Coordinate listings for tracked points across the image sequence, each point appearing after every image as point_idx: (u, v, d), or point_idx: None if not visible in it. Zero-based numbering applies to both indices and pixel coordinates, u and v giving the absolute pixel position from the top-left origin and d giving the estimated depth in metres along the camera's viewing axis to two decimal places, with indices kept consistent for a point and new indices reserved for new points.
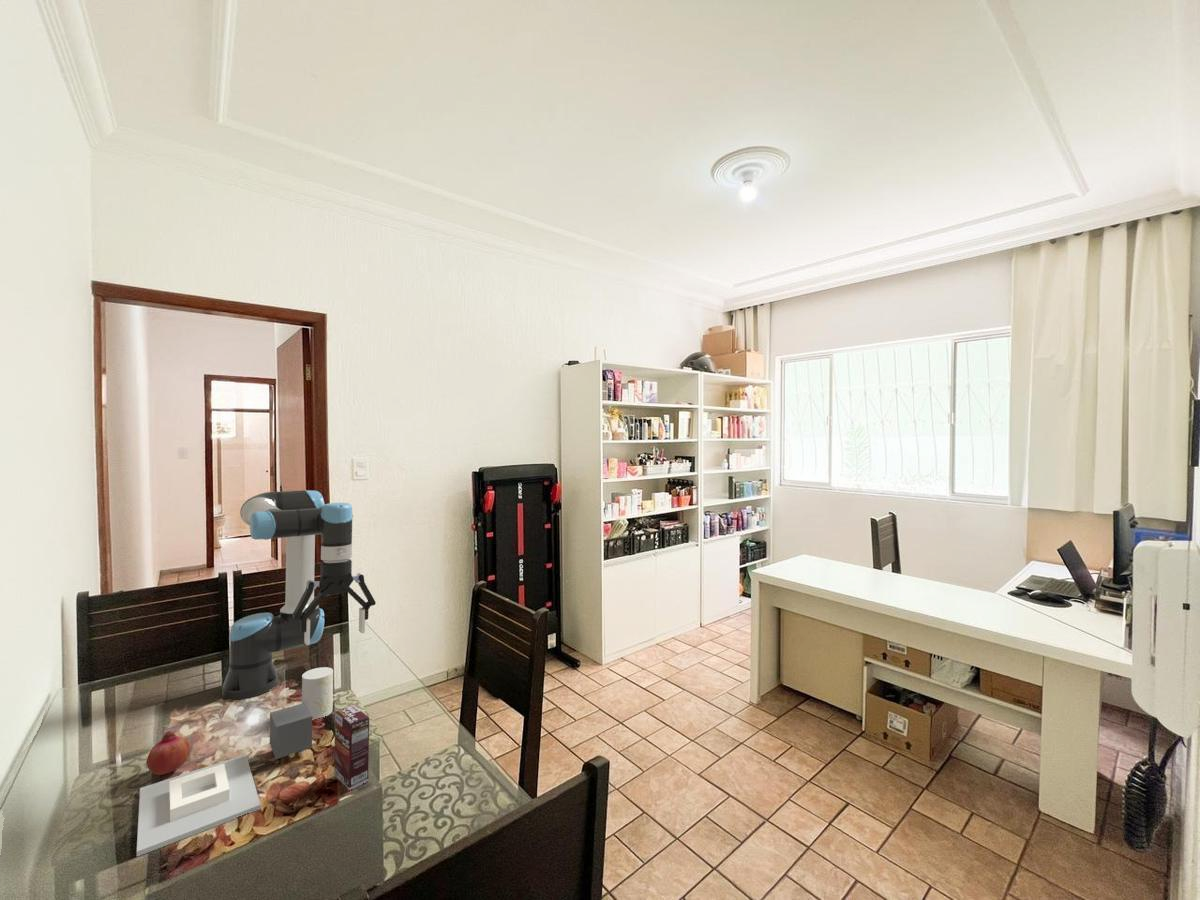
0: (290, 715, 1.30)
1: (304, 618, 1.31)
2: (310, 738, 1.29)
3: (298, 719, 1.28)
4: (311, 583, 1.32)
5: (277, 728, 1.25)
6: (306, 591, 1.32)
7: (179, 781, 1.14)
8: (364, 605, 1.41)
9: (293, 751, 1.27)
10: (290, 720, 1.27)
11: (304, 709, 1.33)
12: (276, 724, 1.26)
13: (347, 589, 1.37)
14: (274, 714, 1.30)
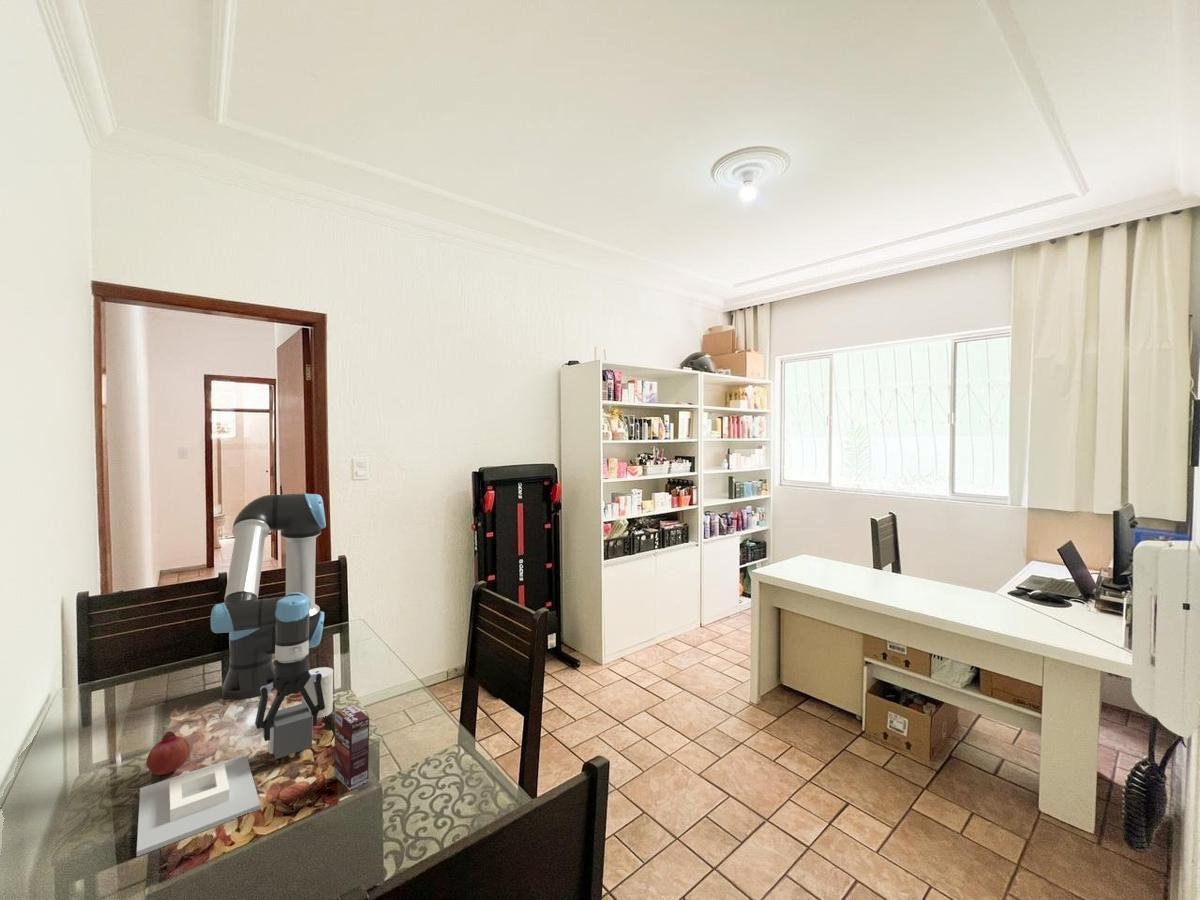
0: (290, 715, 1.30)
1: (267, 726, 1.26)
2: (310, 738, 1.29)
3: (298, 719, 1.28)
4: (263, 690, 1.25)
5: (277, 728, 1.25)
6: (261, 698, 1.26)
7: (179, 781, 1.14)
8: (313, 710, 1.33)
9: (293, 751, 1.27)
10: (290, 720, 1.27)
11: (304, 709, 1.33)
12: (276, 724, 1.26)
13: (301, 689, 1.30)
14: None
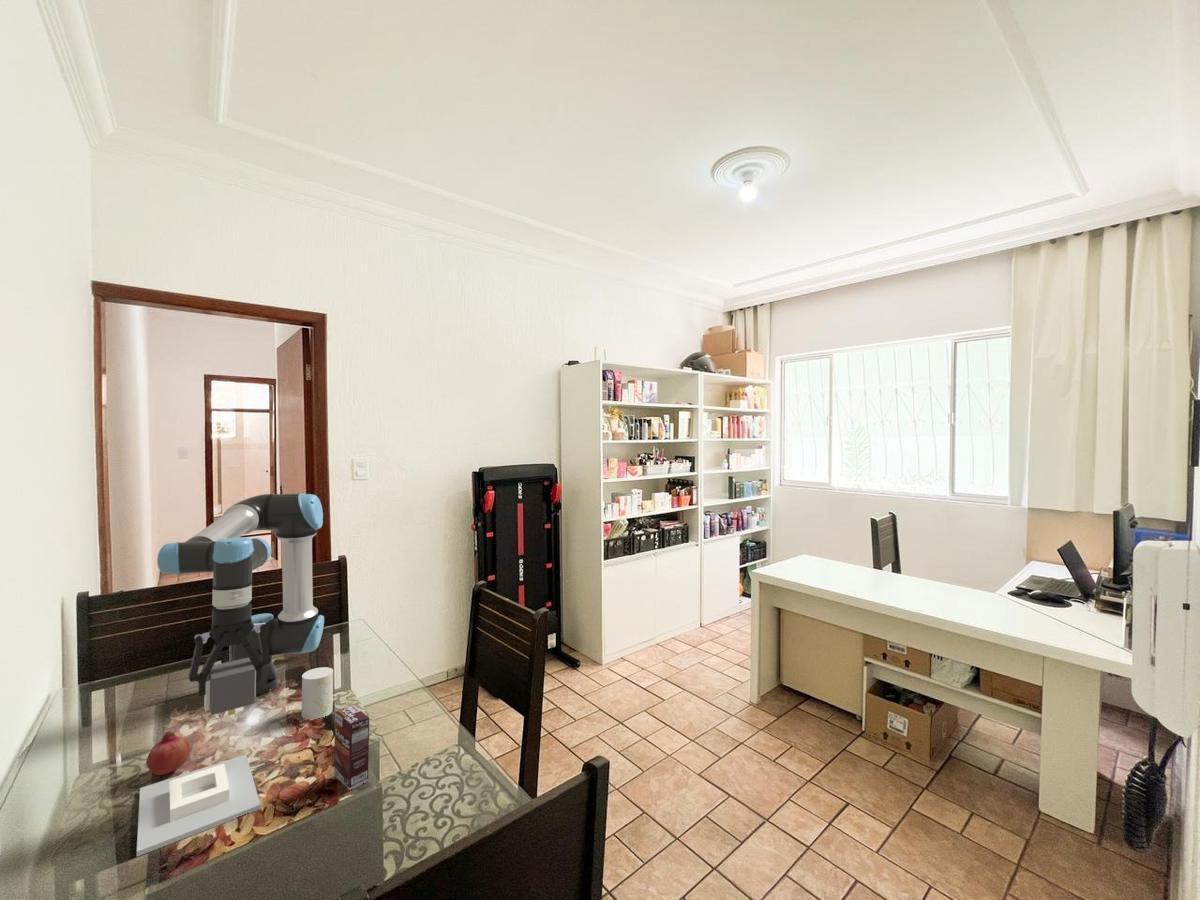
0: (230, 668, 1.17)
1: (202, 679, 1.13)
2: (252, 693, 1.17)
3: (238, 672, 1.15)
4: (198, 638, 1.13)
5: (213, 680, 1.12)
6: (196, 647, 1.13)
7: (179, 781, 1.14)
8: (256, 664, 1.20)
9: (232, 707, 1.14)
10: (229, 673, 1.15)
11: (246, 663, 1.20)
12: (212, 676, 1.13)
13: (242, 640, 1.18)
14: (212, 668, 1.17)
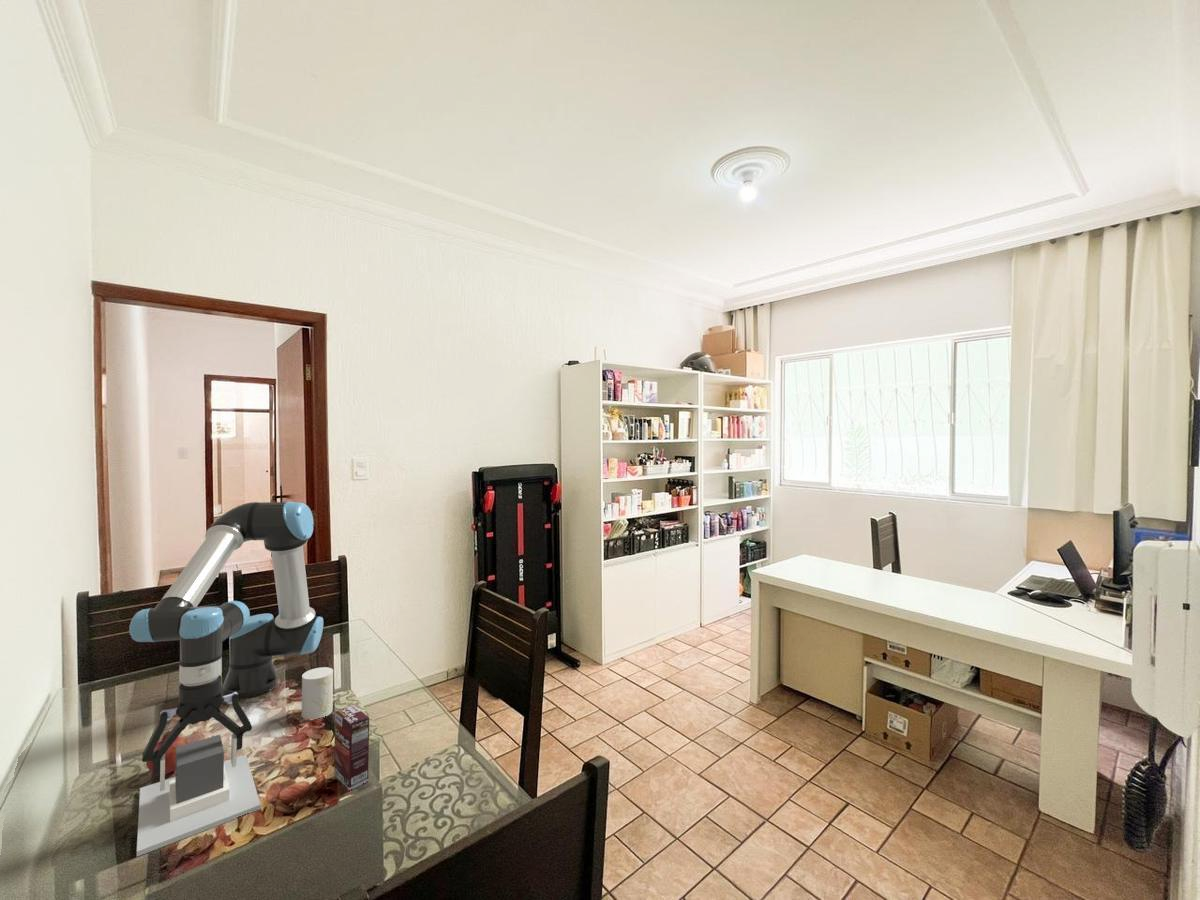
0: (198, 751, 1.12)
1: (156, 759, 1.07)
2: (221, 777, 1.12)
3: (206, 756, 1.10)
4: (163, 714, 1.08)
5: (178, 768, 1.07)
6: (158, 724, 1.08)
7: None
8: (236, 732, 1.16)
9: (199, 793, 1.09)
10: (196, 758, 1.09)
11: (216, 743, 1.15)
12: (178, 762, 1.08)
13: (213, 715, 1.13)
14: (179, 749, 1.12)
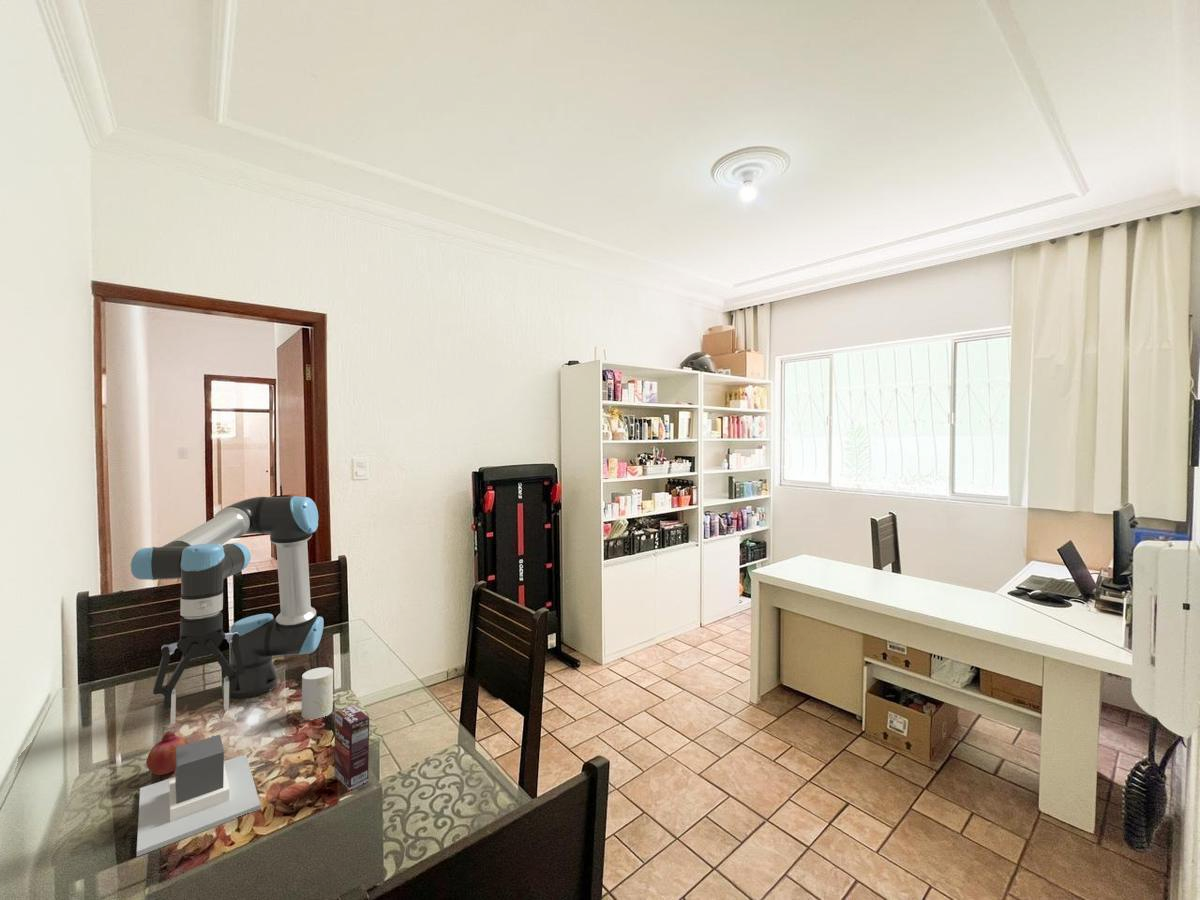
0: (198, 751, 1.12)
1: (167, 692, 1.08)
2: (221, 777, 1.12)
3: (206, 756, 1.10)
4: (164, 649, 1.08)
5: (178, 768, 1.07)
6: (162, 659, 1.08)
7: None
8: (229, 675, 1.15)
9: (199, 793, 1.09)
10: (196, 758, 1.09)
11: (216, 743, 1.15)
12: (178, 762, 1.08)
13: (213, 651, 1.13)
14: (179, 749, 1.12)
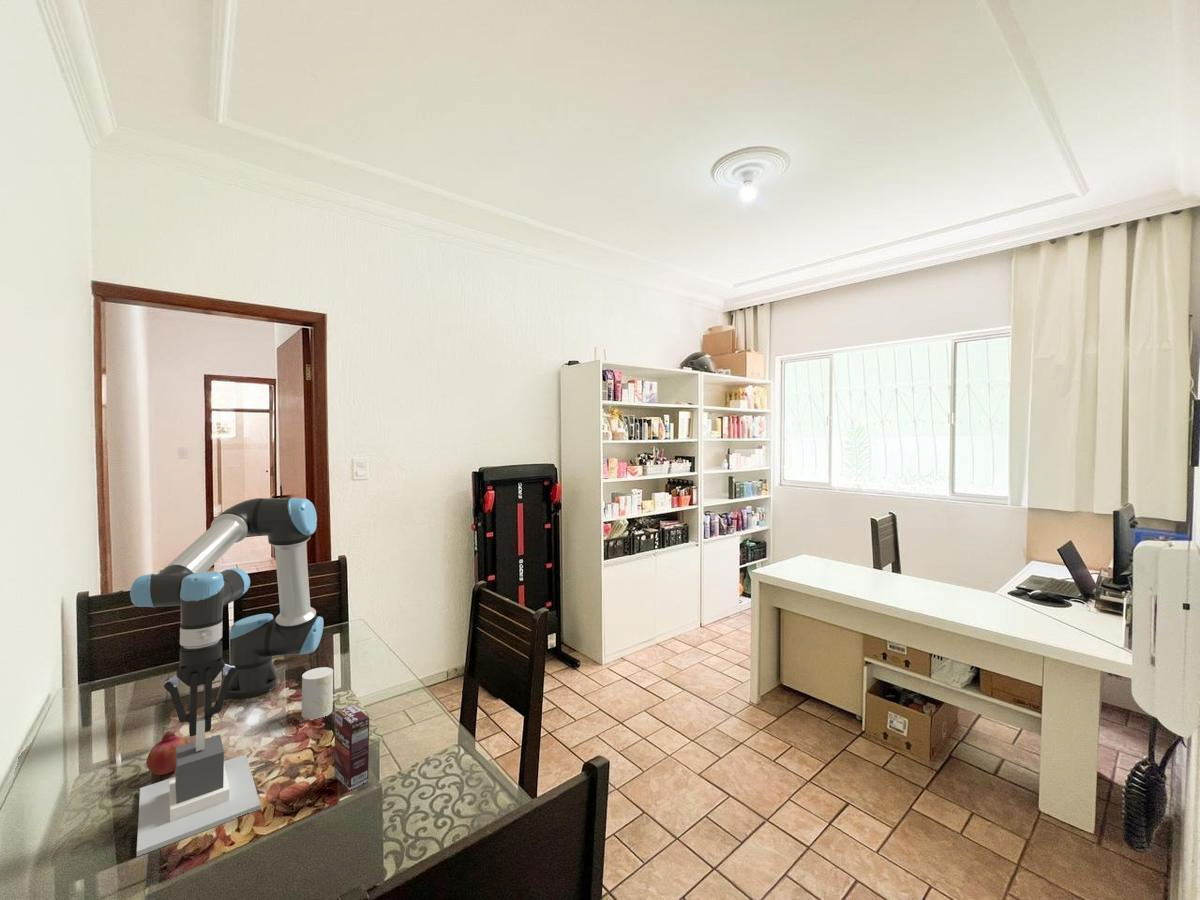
0: (198, 751, 1.12)
1: (193, 720, 1.11)
2: (221, 777, 1.12)
3: (206, 756, 1.10)
4: (166, 685, 1.08)
5: (178, 768, 1.07)
6: None
7: None
8: (207, 712, 1.13)
9: (199, 793, 1.09)
10: (196, 758, 1.09)
11: (216, 743, 1.15)
12: (178, 762, 1.08)
13: (207, 681, 1.12)
14: (179, 749, 1.12)
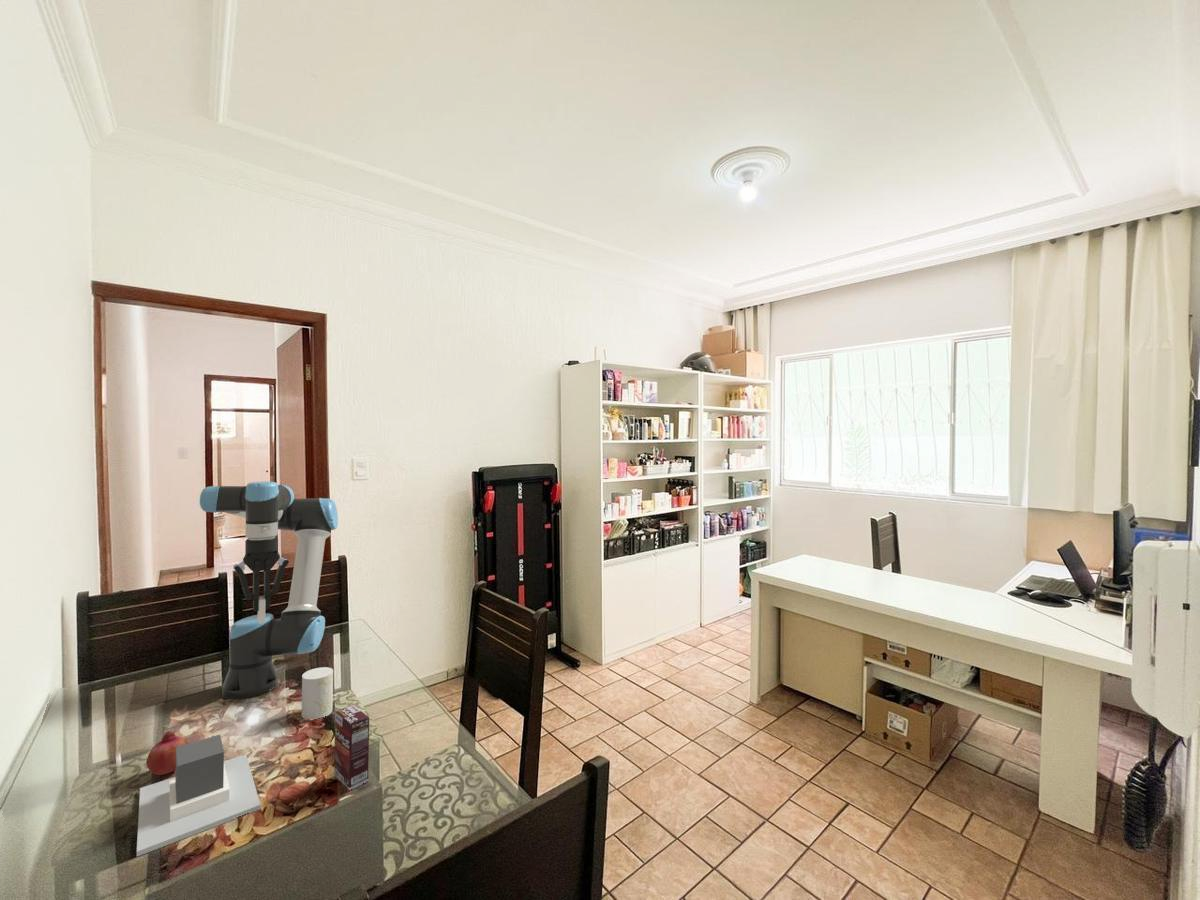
0: (198, 751, 1.12)
1: (256, 598, 1.38)
2: (221, 777, 1.12)
3: (206, 756, 1.10)
4: (236, 568, 1.34)
5: (178, 768, 1.07)
6: None
7: None
8: (267, 593, 1.39)
9: (199, 793, 1.09)
10: (196, 758, 1.09)
11: (216, 743, 1.15)
12: (178, 762, 1.08)
13: (267, 568, 1.39)
14: (179, 749, 1.12)
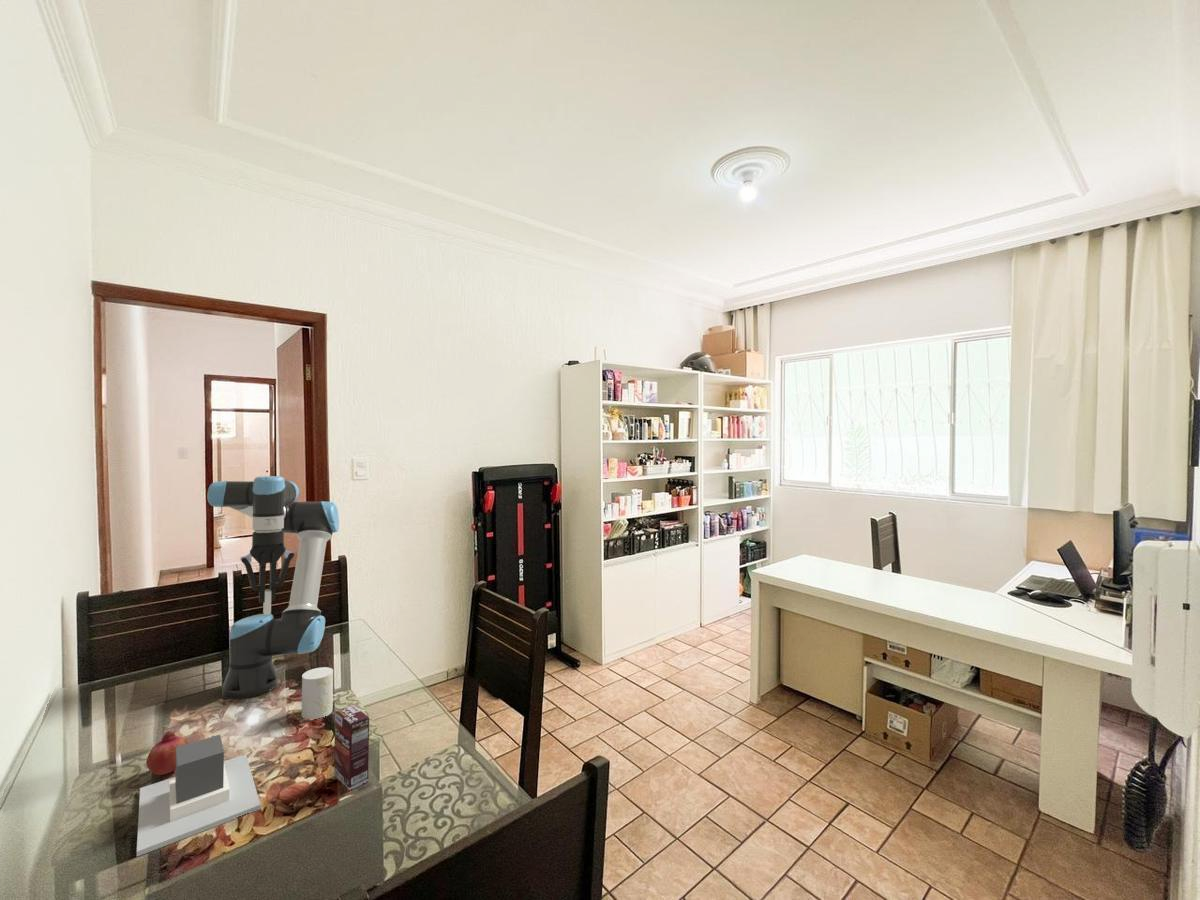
0: (198, 751, 1.12)
1: (262, 589, 1.41)
2: (221, 777, 1.12)
3: (206, 756, 1.10)
4: (243, 559, 1.38)
5: (178, 768, 1.07)
6: (245, 566, 1.39)
7: None
8: (272, 585, 1.43)
9: (199, 793, 1.09)
10: (196, 758, 1.09)
11: (216, 743, 1.15)
12: (178, 762, 1.08)
13: (273, 560, 1.42)
14: (179, 749, 1.12)
